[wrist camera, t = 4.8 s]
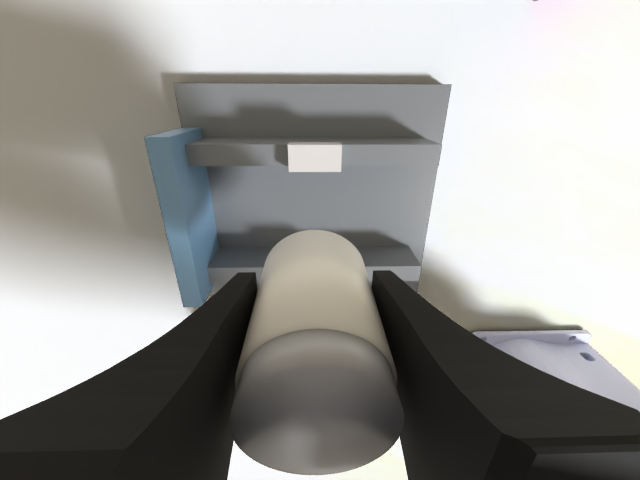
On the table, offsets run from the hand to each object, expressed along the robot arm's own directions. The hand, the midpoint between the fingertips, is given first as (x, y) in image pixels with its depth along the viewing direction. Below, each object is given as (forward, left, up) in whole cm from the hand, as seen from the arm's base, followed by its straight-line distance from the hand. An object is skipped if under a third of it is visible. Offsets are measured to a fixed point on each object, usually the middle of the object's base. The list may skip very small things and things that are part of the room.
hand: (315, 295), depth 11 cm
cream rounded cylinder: (0, 0, -1) cm, 1 cm away
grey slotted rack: (0, +6, -9) cm, 11 cm away
